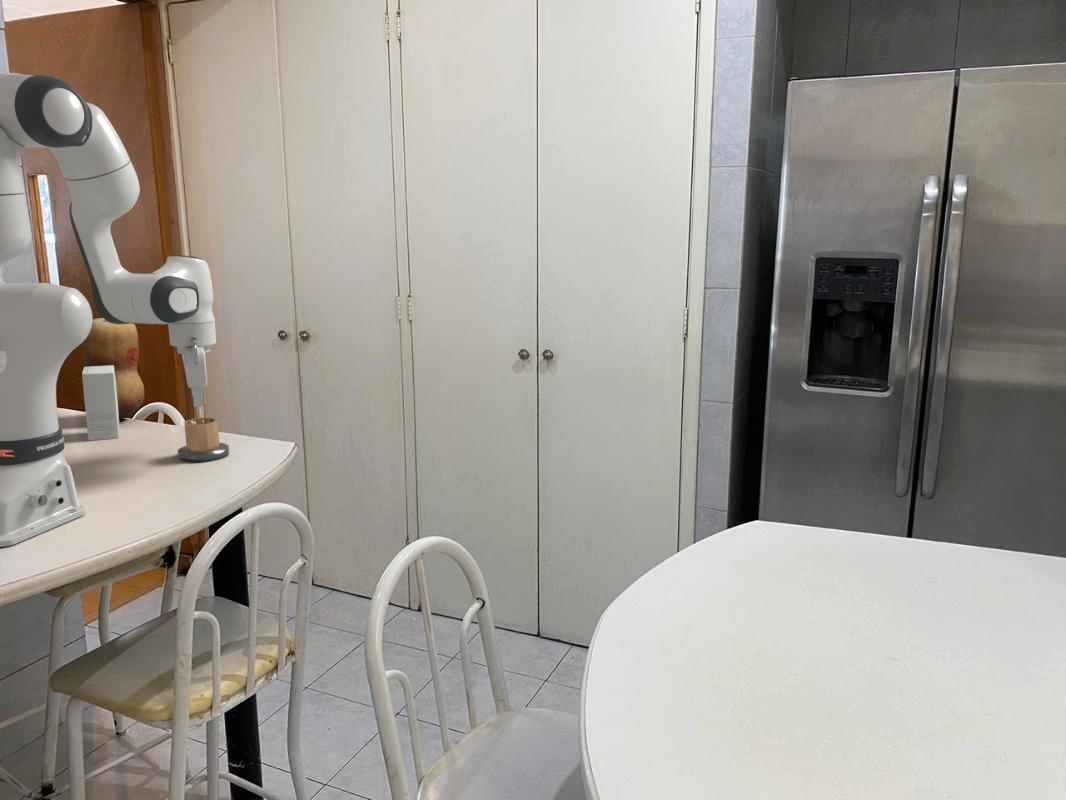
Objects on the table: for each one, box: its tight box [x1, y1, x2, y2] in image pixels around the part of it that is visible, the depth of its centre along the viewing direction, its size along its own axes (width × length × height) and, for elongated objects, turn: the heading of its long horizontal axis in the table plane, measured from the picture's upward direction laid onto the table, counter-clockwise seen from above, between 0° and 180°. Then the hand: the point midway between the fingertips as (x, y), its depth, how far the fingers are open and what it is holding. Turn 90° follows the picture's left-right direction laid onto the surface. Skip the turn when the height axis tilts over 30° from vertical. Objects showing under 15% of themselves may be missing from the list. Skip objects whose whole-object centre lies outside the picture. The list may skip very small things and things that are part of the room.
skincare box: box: [81, 365, 120, 442], centre depth 186 cm, size 8×7×16 cm
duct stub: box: [177, 442, 230, 463], centre depth 172 cm, size 10×10×6 cm
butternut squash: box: [82, 317, 145, 421], centre depth 199 cm, size 14×13×25 cm
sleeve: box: [183, 417, 220, 453], centre depth 172 cm, size 6×6×6 cm
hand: (197, 402), depth 170 cm, fingers open, 8 cm apart
